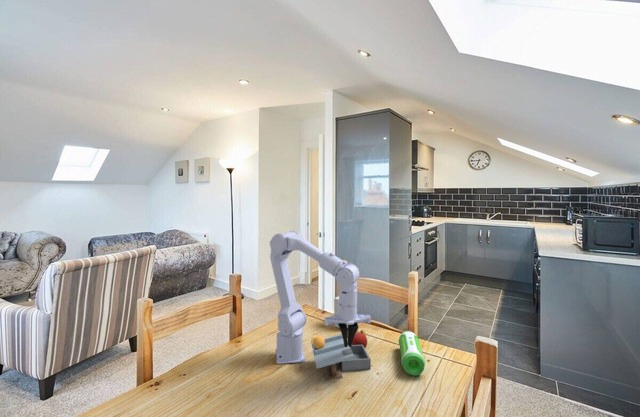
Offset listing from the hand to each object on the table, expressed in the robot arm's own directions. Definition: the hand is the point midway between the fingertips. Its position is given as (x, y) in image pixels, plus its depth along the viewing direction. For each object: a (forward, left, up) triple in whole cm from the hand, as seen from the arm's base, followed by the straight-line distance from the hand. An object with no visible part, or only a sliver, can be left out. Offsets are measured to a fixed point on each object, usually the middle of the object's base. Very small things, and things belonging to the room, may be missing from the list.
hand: (347, 345), depth 94 cm
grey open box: (+3, +6, -9) cm, 12 cm away
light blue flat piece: (-4, +3, -3) cm, 7 cm away
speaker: (+23, +4, -10) cm, 26 cm away
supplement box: (+7, +34, -10) cm, 37 cm away
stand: (-4, +3, -9) cm, 11 cm away
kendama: (+8, +21, -10) cm, 24 cm away
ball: (-8, +6, -2) cm, 11 cm away
